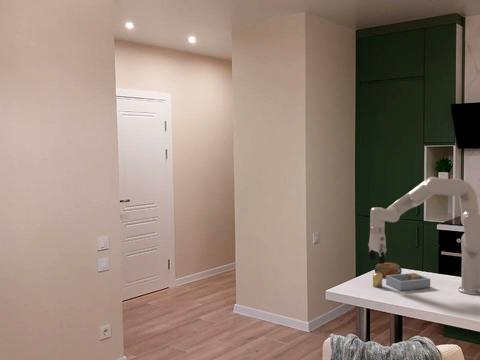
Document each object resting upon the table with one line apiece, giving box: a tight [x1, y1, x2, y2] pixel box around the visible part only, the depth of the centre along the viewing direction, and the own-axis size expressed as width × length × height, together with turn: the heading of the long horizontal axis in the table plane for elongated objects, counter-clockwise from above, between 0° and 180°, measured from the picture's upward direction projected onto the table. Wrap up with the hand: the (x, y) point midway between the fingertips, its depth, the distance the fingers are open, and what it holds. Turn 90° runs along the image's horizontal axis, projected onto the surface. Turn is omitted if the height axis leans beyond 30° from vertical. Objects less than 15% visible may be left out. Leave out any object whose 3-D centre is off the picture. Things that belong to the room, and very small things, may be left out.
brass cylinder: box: [372, 272, 383, 289], centre depth 266 cm, size 5×5×7 cm
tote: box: [385, 272, 431, 292], centre depth 266 cm, size 14×18×5 cm
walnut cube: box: [407, 273, 422, 281], centre depth 267 cm, size 5×5×5 cm
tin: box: [374, 262, 402, 278], centre depth 286 cm, size 15×3×8 cm, turn 73°
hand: (376, 261), depth 266 cm, fingers open, 9 cm apart
